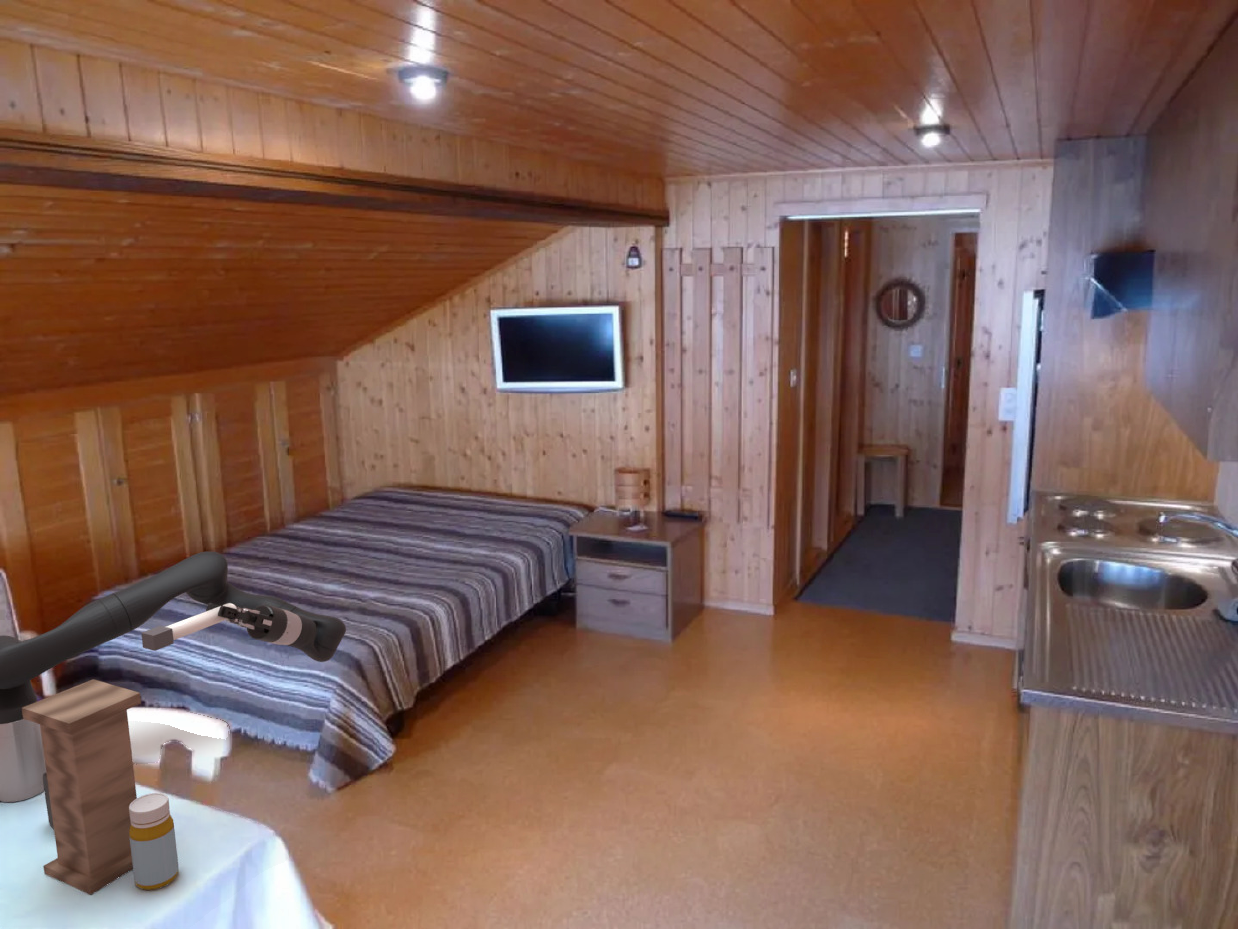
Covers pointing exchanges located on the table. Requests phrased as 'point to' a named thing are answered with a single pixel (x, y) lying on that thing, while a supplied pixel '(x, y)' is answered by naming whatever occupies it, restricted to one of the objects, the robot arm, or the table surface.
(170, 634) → the hammer
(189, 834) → the table surface
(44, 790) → the battery charger
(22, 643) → the robot arm
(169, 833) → the bottle
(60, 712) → the pedestal
